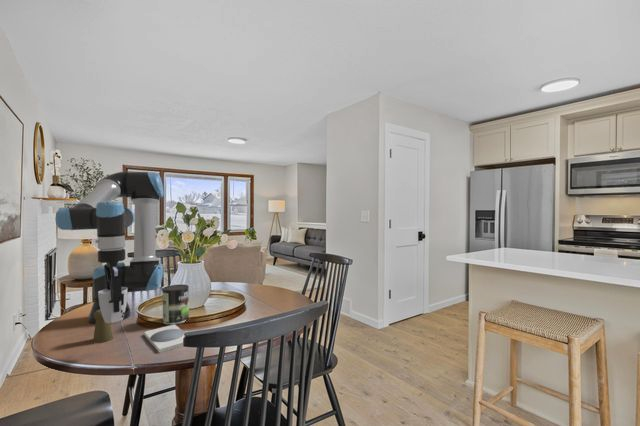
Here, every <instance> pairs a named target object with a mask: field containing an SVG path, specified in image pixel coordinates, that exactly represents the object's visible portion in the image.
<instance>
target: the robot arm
mask: <svg viewBox="0 0 640 426" xmlns="http://www.w3.org/2000/svg"><path fill="white" fill-rule="evenodd" d="M163 197H164V186H163V181H162V178H161V176H160V174H159V173H157V172H150V171H119V172H115V173H112V174H109V175H107V176H105V177H102V178H101V179H100V180H98V181H97V182H96V183H95V186H94V188H93V189H92V190H91V191H90V192H88V194H86V195H85V196H84V197H83V198H82V199H81V200H80V201H78V202H77V203H76V204H75V205H74V206H73V207H62V208H59V209H58V210H57V211H56V214H55V217H54V218H55V224H56V227H57V228H58V229H60V230H61V231H65V230H66V231H81V230H86V231H87V230H96V232H97V233H96V237H97V239H95V241H94V242H95V244H97V249H98V251H97V261H98V263H100V264H101V263H102V264H103V265H101V266H98V267H95V268H94V270H93V272H92V273H93V274H92V285H93V286H92V288H93V289H92V290H93V303H92V307H91V309H90V312H89V315H88V321H89V323H92V324H95V323H96V319H95V318H94V313H95V311H97V310H99V309H100V305H99V297H98V292H99V291H100V290H103V289H107V290H110V293H111V301H109V303H110V305H111V323H110V324H113V323H114V322H115V323H118V322H122V320H121V300H122V291H121V287H126V288H127V293H135V292H150V291H156V290H158V289H159V288H160V286H161V285H162V284H161V283H162V280H163V275H164V264H163V263H161V262H160V259H159V258H158V257H157V256H156V249H157V248H156V242H157V240H156V239H157V238H156V230H157V229H156V230H155V228H157V223H156V222H157V221H156V219H157V216H156V214H157V212H156V211H157V210H156V209H157V205H158V203H160V198H163ZM118 198H130V202H131V203H132V204H133V205H134V211H133V210H132V209H131V208H128V207H126V206H124V203H123V202H121V201H114V200H116V199H118ZM133 224H134V225H133ZM132 225H133V226H134V228H133V229H134V231H133V233H134V234H133V236H134V237H133V258H132V259H131V260H130V261H129V265H126V264H125V262H123V261H125V260H126V249H125V247H126V235H125V229H126V228H128V227H131V226H132ZM115 297H116V298H115ZM130 315H131V307H130V305H129V303H128V301H127V304H126V311H125V314H124V317H123V319H127V318H128V317H129V316H130Z"/></svg>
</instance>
